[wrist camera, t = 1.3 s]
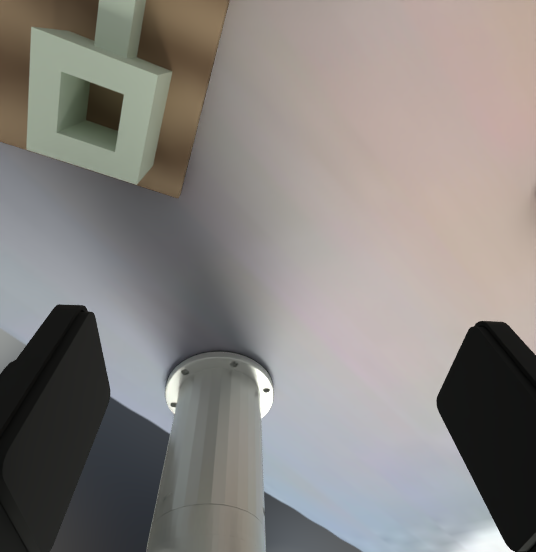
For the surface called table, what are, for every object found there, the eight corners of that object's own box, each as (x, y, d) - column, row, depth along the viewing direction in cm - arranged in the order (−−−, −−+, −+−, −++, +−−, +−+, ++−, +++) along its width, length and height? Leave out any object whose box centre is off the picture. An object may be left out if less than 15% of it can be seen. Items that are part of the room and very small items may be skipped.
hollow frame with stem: (153, 165, 30) (136, 184, 26) (59, 134, 28) (26, 149, 24) (197, -50, 23) (186, -73, 19) (79, -105, 22) (38, -143, 18)
